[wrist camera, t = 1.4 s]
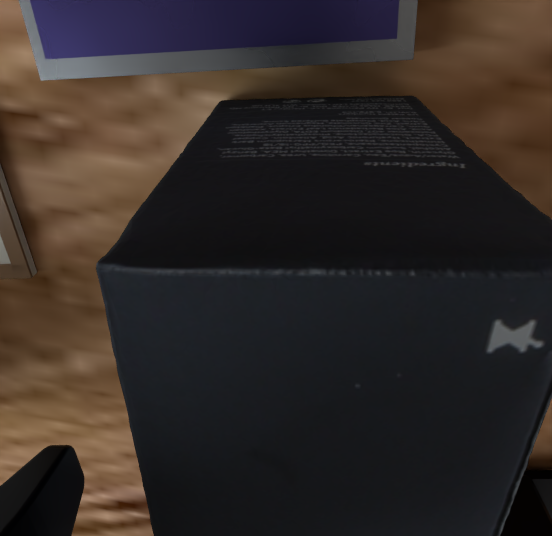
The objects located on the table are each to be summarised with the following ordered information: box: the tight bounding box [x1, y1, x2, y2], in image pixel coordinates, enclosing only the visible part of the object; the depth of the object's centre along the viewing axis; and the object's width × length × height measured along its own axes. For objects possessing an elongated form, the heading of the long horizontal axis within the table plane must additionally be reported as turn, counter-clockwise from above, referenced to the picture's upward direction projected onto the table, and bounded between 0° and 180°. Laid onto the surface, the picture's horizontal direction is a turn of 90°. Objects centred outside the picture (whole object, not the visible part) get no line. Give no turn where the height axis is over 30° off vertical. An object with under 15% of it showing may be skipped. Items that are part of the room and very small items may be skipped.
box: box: [96, 96, 552, 536], centre depth 11 cm, size 9×6×10 cm, turn 0°
